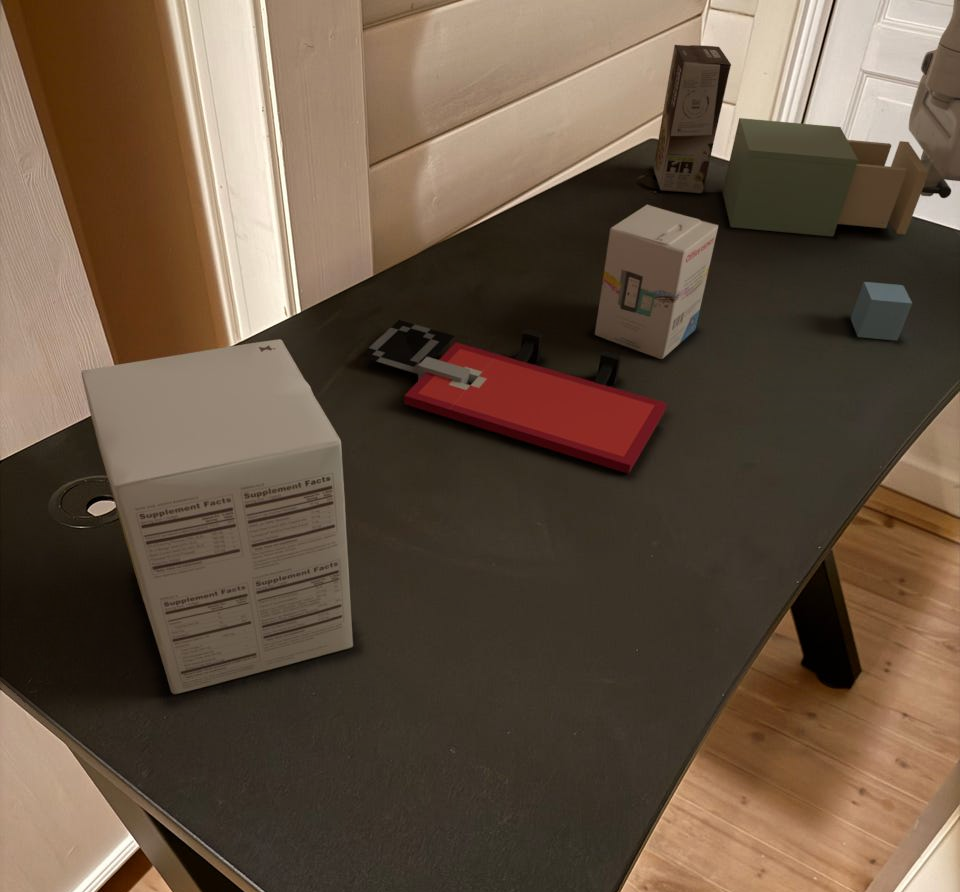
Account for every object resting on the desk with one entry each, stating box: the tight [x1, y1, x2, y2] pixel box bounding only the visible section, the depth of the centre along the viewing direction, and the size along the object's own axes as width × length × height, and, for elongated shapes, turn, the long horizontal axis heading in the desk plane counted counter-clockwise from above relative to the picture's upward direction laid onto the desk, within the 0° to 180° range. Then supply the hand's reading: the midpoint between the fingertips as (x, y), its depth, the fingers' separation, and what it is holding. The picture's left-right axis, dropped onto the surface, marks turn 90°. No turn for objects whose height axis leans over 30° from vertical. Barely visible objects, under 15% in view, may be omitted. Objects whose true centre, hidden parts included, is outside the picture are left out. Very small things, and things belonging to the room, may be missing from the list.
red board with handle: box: [359, 319, 668, 475], centre depth 91 cm, size 30×3×15 cm
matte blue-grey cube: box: [850, 281, 913, 342], centre depth 104 cm, size 4×4×4 cm
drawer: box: [837, 139, 952, 235], centre depth 125 cm, size 17×11×8 cm
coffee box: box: [653, 44, 732, 194], centre depth 129 cm, size 9×6×16 cm
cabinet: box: [721, 117, 858, 237], centre depth 125 cm, size 14×13×10 cm
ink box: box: [594, 204, 719, 360], centre depth 98 cm, size 8×8×12 cm
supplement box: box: [81, 338, 354, 695], centre depth 63 cm, size 13×13×18 cm
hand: (923, 192), depth 125 cm, fingers closed, pressing on drawer
